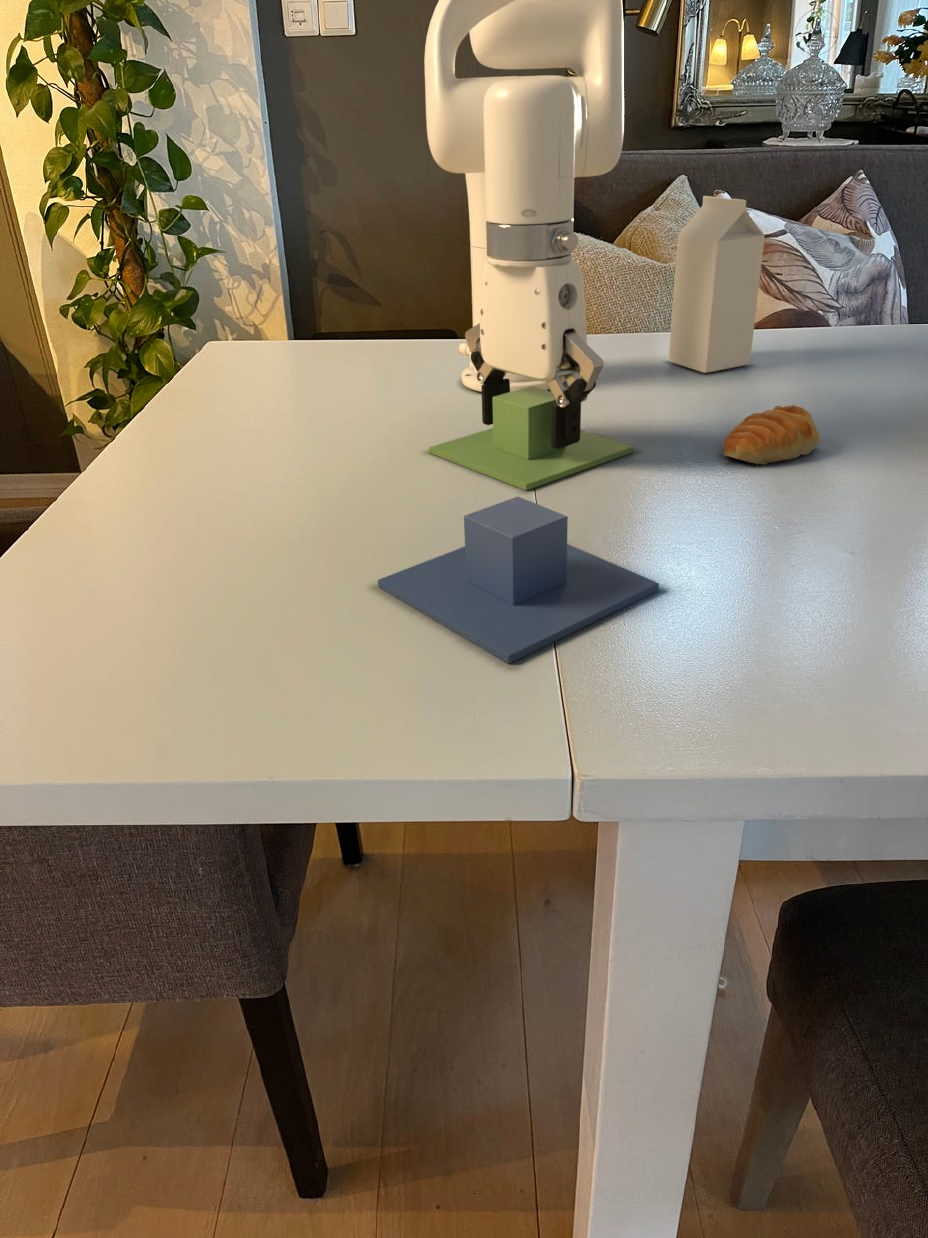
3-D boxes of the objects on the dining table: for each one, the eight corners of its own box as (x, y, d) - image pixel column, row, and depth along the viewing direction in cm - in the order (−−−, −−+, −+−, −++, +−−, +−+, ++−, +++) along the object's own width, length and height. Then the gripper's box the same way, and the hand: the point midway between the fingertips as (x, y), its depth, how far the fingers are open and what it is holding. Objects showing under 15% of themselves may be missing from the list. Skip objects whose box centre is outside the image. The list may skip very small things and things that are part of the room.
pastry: (763, 474, 82) (768, 433, 80) (702, 456, 87) (706, 417, 85) (823, 449, 87) (829, 410, 85) (763, 434, 92) (767, 396, 90)
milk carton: (705, 374, 111) (721, 202, 102) (667, 362, 117) (679, 198, 107) (750, 365, 114) (770, 197, 104) (711, 354, 119) (727, 193, 110)
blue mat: (378, 587, 66) (377, 579, 66) (522, 530, 73) (522, 524, 73) (508, 664, 56) (508, 656, 56) (658, 590, 64) (659, 583, 64)
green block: (493, 447, 89) (492, 396, 87) (531, 435, 92) (531, 385, 89) (528, 460, 86) (528, 407, 83) (566, 447, 88) (567, 396, 86)
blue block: (465, 581, 65) (463, 515, 62) (518, 559, 68) (517, 495, 65) (513, 605, 61) (512, 537, 59) (566, 582, 64) (568, 515, 62)
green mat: (428, 452, 90) (428, 446, 90) (533, 420, 98) (533, 415, 98) (526, 490, 81) (526, 484, 80) (633, 452, 88) (633, 446, 88)
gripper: (634, 246, 76) (623, 445, 85) (496, 229, 88) (499, 405, 96) (570, 258, 72) (565, 465, 81) (434, 239, 84) (443, 422, 92)
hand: (529, 432), depth 88 cm, fingers open, 9 cm apart
